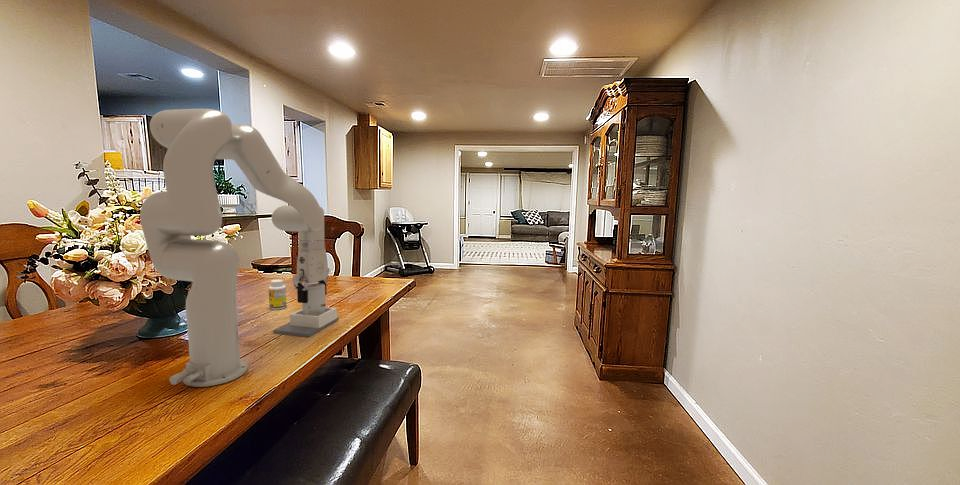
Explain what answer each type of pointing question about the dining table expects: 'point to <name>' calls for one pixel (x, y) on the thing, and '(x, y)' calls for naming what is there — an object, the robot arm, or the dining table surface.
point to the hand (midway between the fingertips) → (312, 298)
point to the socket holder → (308, 323)
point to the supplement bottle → (277, 295)
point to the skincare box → (315, 300)
